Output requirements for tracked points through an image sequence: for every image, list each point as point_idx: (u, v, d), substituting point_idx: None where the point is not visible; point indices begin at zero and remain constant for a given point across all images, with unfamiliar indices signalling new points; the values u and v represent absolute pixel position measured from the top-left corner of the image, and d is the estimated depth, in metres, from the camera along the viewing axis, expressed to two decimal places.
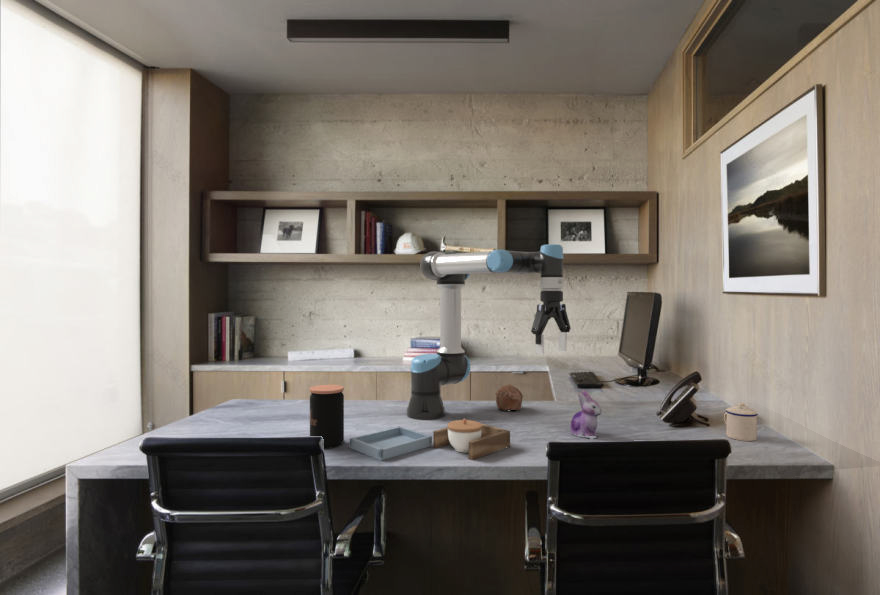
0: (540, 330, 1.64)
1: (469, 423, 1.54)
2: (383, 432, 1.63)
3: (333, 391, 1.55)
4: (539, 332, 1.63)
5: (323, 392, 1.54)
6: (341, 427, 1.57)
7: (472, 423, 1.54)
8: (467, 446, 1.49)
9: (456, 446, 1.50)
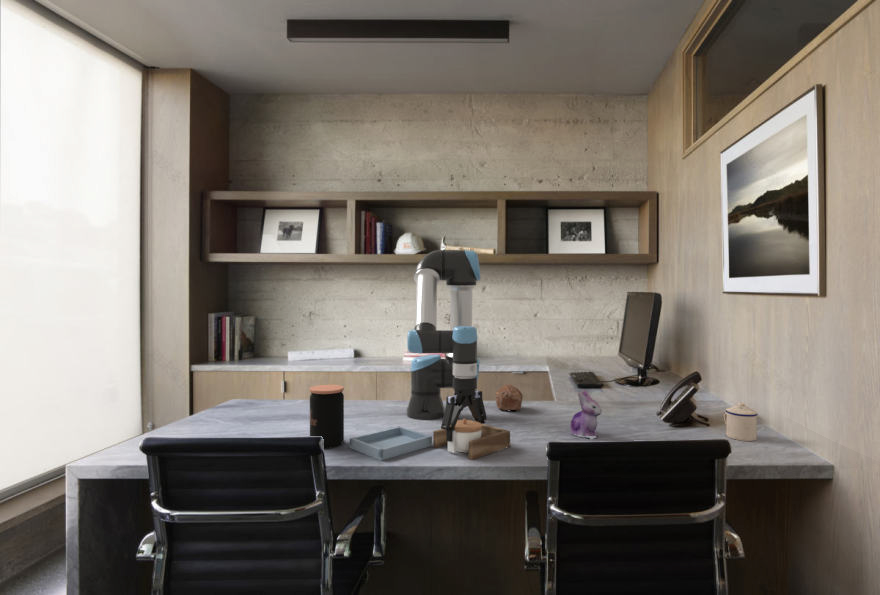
0: (451, 426, 1.48)
1: (469, 423, 1.54)
2: (383, 432, 1.63)
3: (333, 391, 1.55)
4: (450, 429, 1.48)
5: (323, 392, 1.54)
6: (341, 427, 1.57)
7: (472, 423, 1.54)
8: (467, 446, 1.49)
9: (456, 446, 1.50)
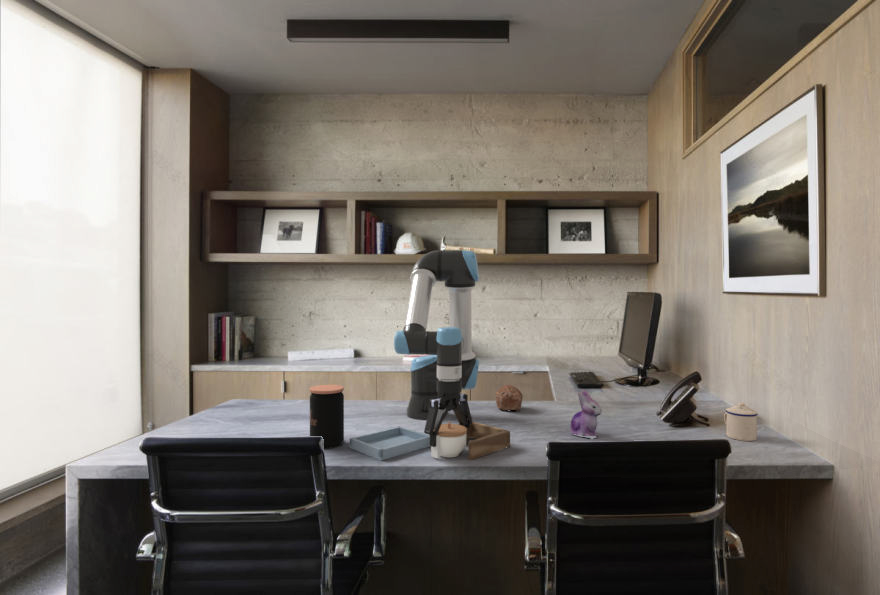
0: (434, 431, 1.44)
1: (454, 427, 1.50)
2: (383, 432, 1.63)
3: (333, 391, 1.55)
4: (433, 433, 1.43)
5: (323, 392, 1.54)
6: (341, 427, 1.57)
7: (457, 427, 1.49)
8: (451, 451, 1.45)
9: (440, 451, 1.46)
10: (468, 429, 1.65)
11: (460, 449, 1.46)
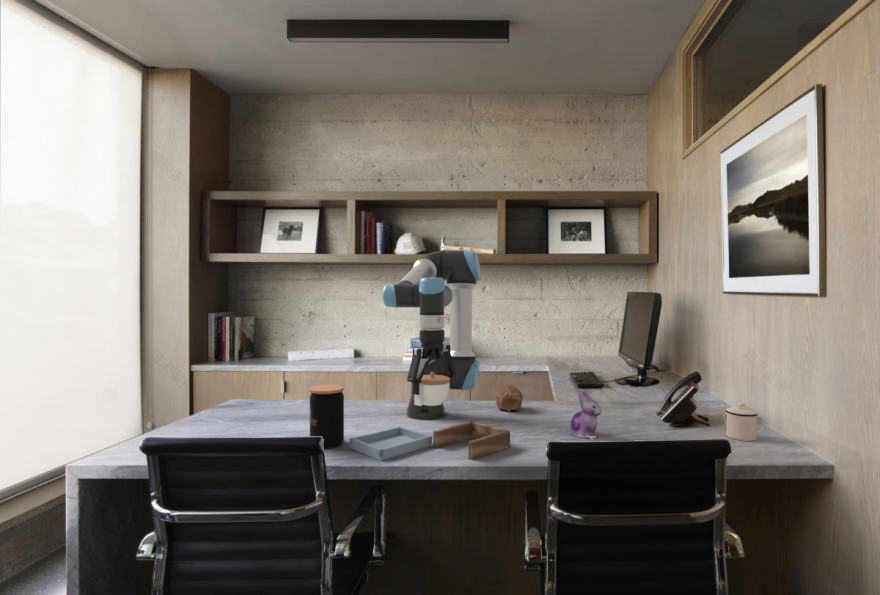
0: (417, 379, 1.44)
1: (437, 377, 1.51)
2: (383, 432, 1.63)
3: (333, 391, 1.55)
4: (416, 381, 1.44)
5: (323, 392, 1.54)
6: (341, 427, 1.57)
7: (440, 377, 1.50)
8: (434, 399, 1.46)
9: (423, 399, 1.47)
10: (468, 429, 1.65)
11: (443, 397, 1.47)
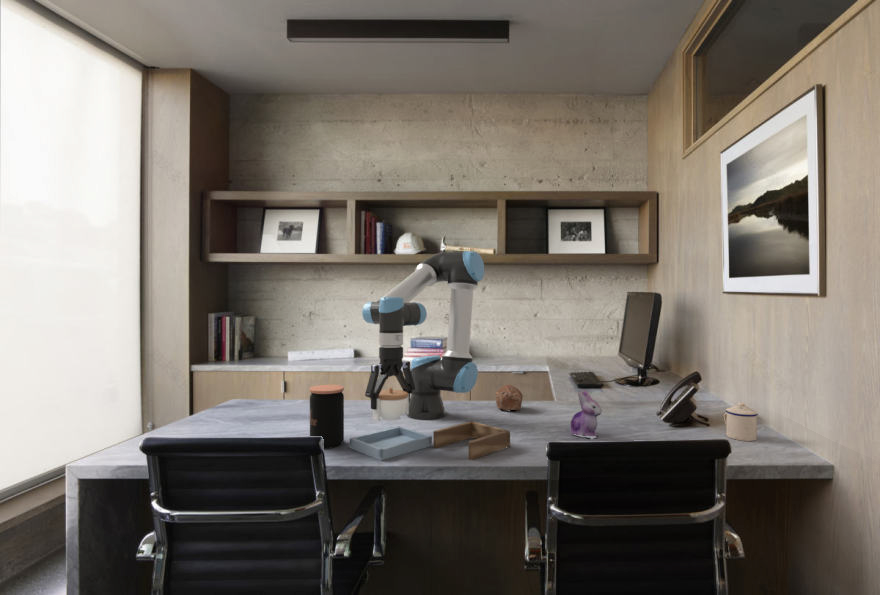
0: (375, 394, 1.50)
1: (395, 392, 1.56)
2: (383, 432, 1.63)
3: (333, 391, 1.55)
4: (373, 397, 1.50)
5: (323, 392, 1.54)
6: (341, 427, 1.57)
7: (399, 392, 1.56)
8: (391, 414, 1.51)
9: (380, 414, 1.52)
10: (468, 429, 1.65)
11: (400, 412, 1.53)
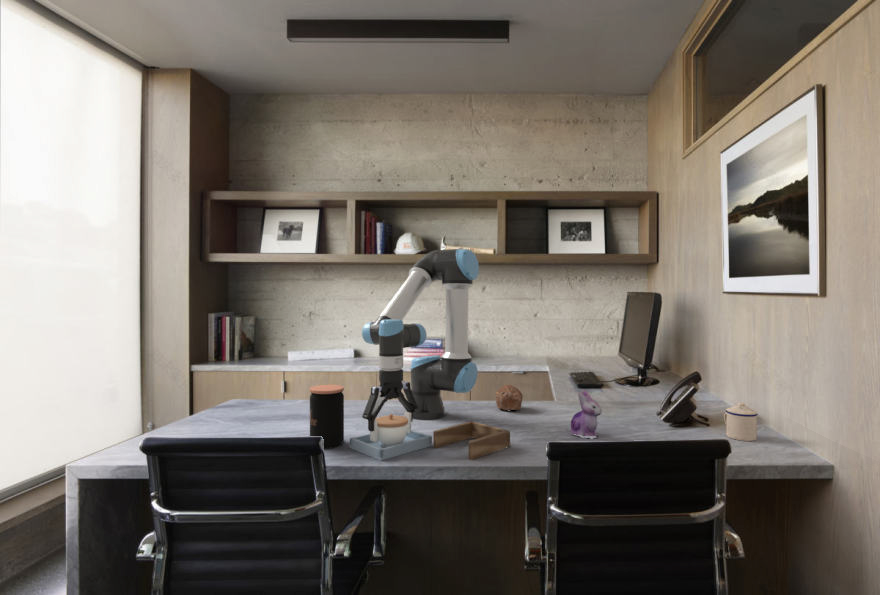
0: (372, 416, 1.50)
1: (396, 418, 1.57)
2: None
3: (333, 391, 1.55)
4: (371, 418, 1.50)
5: (323, 392, 1.54)
6: (341, 427, 1.57)
7: (399, 418, 1.56)
8: (391, 441, 1.52)
9: (381, 441, 1.53)
10: (468, 429, 1.65)
11: (400, 439, 1.53)
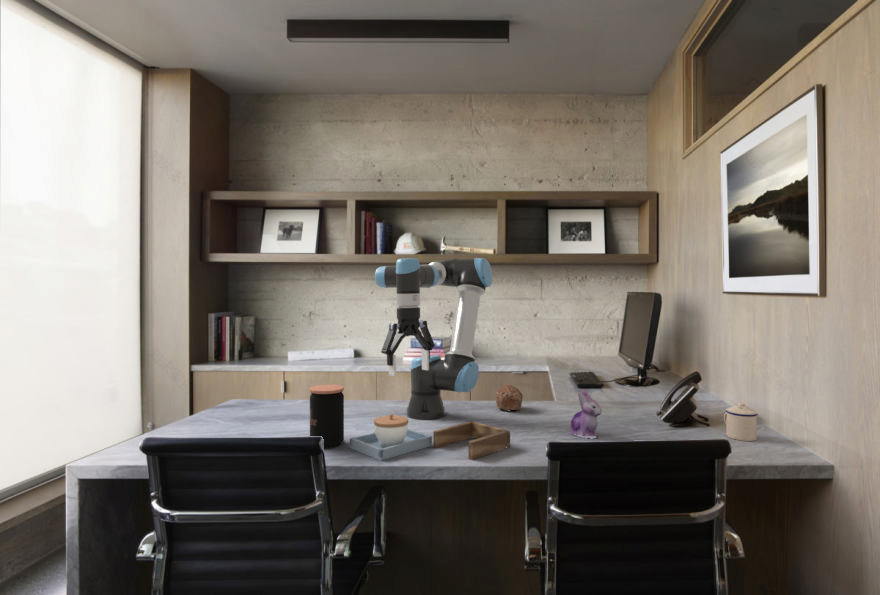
0: (391, 351, 1.54)
1: (396, 418, 1.57)
2: None
3: (333, 391, 1.55)
4: (389, 353, 1.54)
5: (323, 392, 1.54)
6: (341, 427, 1.57)
7: (399, 418, 1.56)
8: (391, 441, 1.52)
9: (381, 441, 1.53)
10: (468, 429, 1.65)
11: (400, 439, 1.53)
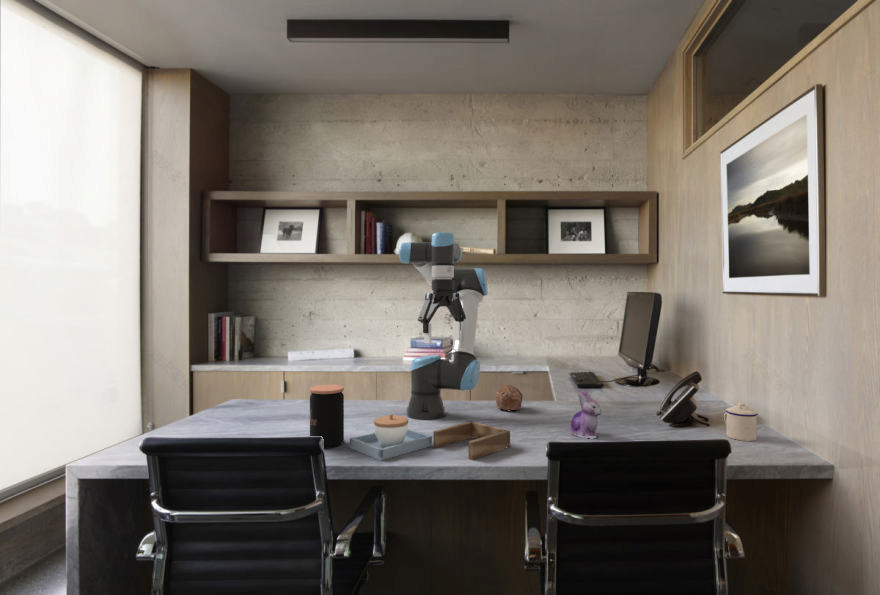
0: (427, 319, 1.62)
1: (396, 418, 1.57)
2: None
3: (333, 391, 1.55)
4: (426, 321, 1.61)
5: (323, 392, 1.54)
6: (341, 427, 1.57)
7: (399, 418, 1.56)
8: (391, 441, 1.52)
9: (381, 441, 1.53)
10: (468, 429, 1.65)
11: (400, 439, 1.53)
